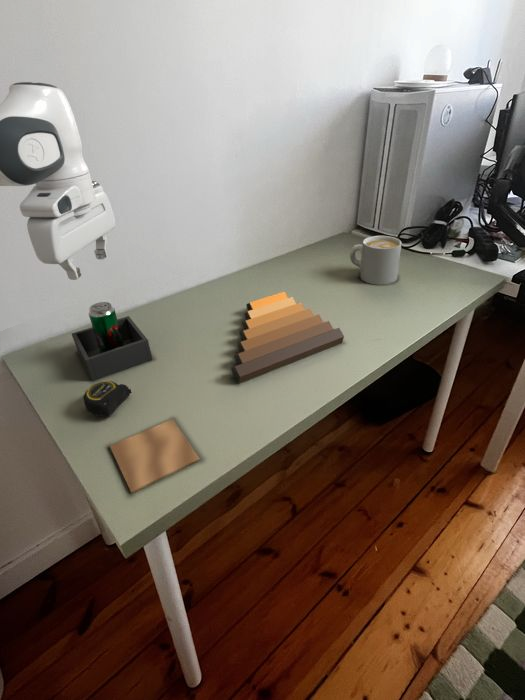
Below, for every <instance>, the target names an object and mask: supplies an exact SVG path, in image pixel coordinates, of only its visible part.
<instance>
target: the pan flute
mask: <svg viewBox="0 0 525 700" xmlns="http://www.w3.org/2000/svg"><path fill="white" fill-rule="evenodd" d="M245 306H246V310H247V311H245V312H244V313H243V314H244V318H245V320H244V321H242V322H241V324H242V329H243V330H242V331H240V332H239V336H240V340H241V341H239V342H237V343H236V345H237V348H238V353H235V354H234V359H235V363H236V365H234V366H232V367H231V371H232V377H233V379H234V380H235V381H236V382H237V383H238V384H242V383H245V382H247V381H250V380H252V379H255V378H258V377H260V376H263V375H265V374H268V373H270V372H273V371H275V370H278V369H281V368H283V367H285V366H288V365H290V364H293V363H296V362H298V361H301V360H303V359H307V358H308V357H311V356H313V355H316V354H318V353H321V352H323V351H326V350H328V349H331V348H334V347H336V346H339V345H341V344H342V343H343V341H344V338H345V335H344V333H343V332H342V330H341V328H340V327H337V328H334V327H333V325H332V324H331V322H330V320H327V321H323V319H322V317H321V315H320V314H319V313H318V314H316V315H314V313H313V311H312V310H311V308H310V307H308V308H305V307H304V306H303V303H302V302H301V301H300V302H298V303H296V300H295V299H294V297H293V296H291V297H288V295H287V294H286V292H285V291H282V292H278V293H275V294H272V295H269V296H265V297H263V298H259V299H255V300H253V301H250V302H248V303H246V304H245Z"/></svg>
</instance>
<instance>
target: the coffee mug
mask: <svg viewBox="0 0 525 700" xmlns="http://www.w3.org/2000/svg"><path fill="white" fill-rule="evenodd" d="M357 251H359V252H360V259H357V257H356V252H357ZM401 252H402V241H401V240H400V239H399V238H397V237H394V236H388V235H373V236H368V237H366V238H364V239H363V240H362V244H355V245H353V246H352V247H351V250H350V253H349V259H350V262H351V263H352V264H353V265H354V266H356V267H357V268H359V270H360V271H359V273H360V274H359V277H360V279H361V281H363V282H365V283H367V284H372V285H377V286H379V285H380V286H383V285H390V284H393V283H395V282H396V281H398V274H399V269H400V268H399V266H400V260H401V259H400V258H401Z"/></svg>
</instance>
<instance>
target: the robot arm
mask: <svg viewBox="0 0 525 700" xmlns="http://www.w3.org/2000/svg"><path fill="white" fill-rule="evenodd" d="M72 109H73V108H72V107H71V105H70V103H69V100H68V98H67V96H66V94H65V93H64V92H63V90H62V89H60V88H58V87H57V86H56V85H54V84H50V83H44V82H32V81H20V82H15V83H13V84H12V83H11V85H9V87H8V94H7V95H6V97H5V98H4V100H3V101H2V102H1V103H0V187H27V186H28V187H29V186H32V185H34V186H33V187H32V189H31V190H30V191H29V193H28V194H27V195H26V197H25V198H24V199H23V200H22V201H21V202H20V205H19V210H20V212H21V214H22V216H23V217H25V218H28V219H27V223H26V227H27V232H28V233H27V234H28V236H29V239H30V243H31V245H32V248H33V251H34V252H35V255H36V257H37V260H39V261H40V262H41V263H43V264H45V265H46V264H47V265H58V266H59V267H61V268H62V269H63V270H64V271H65V272H66V276H67V278H68V279H69V280H71V281H77V280H78V279H79V278H80V277H82V272H81V269H80V267H77V266H75V265H74V264H73V262H74V258H73V256H75V254H77V253H78V252H80V251H81V250H83V249H85V248H86V247H88V246H89V245H91V244H92V243H94V242H95V249H94V255H95V258H96V259H97V260H105V259H106V258H107V257H108V251H107V245H108V236H107V233H109V232H110V231H112V230H113V229H115V227H116V217H115V213H114V210H113V208H112V204H111V201H110V199H109V196H108V195H107V193H106V192H105V191H104V188H103V186H102V185H101V184H100V183H99V182H97V180H92V177H91V174H90V169H89V167H88V165H87V163H86V161H85V159H84V157H83V144H82V142H83V141H82V140H81V139H82V138H81V135H80V131H79V128H78V124H77V122H76V117H75V115H74V112H73V110H72Z"/></svg>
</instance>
